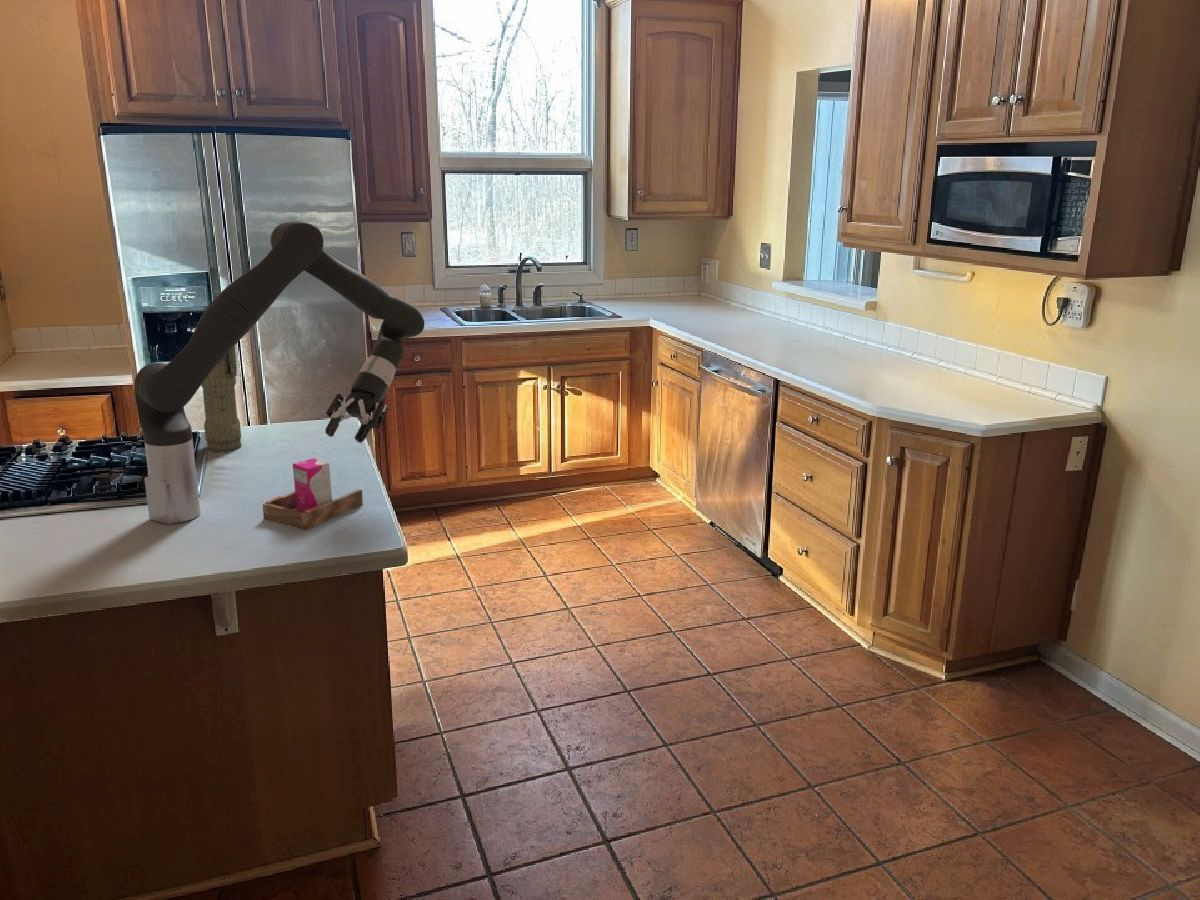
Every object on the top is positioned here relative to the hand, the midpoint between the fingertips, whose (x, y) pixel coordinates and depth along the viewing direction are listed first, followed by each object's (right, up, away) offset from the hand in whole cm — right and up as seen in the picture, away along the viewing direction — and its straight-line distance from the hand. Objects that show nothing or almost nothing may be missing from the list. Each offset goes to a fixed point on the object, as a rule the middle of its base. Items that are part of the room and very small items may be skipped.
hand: (343, 438), depth 205 cm
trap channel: (-5, -16, -5) cm, 18 cm away
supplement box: (-5, -17, -5) cm, 18 cm away
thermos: (-43, -2, +37) cm, 56 cm away
